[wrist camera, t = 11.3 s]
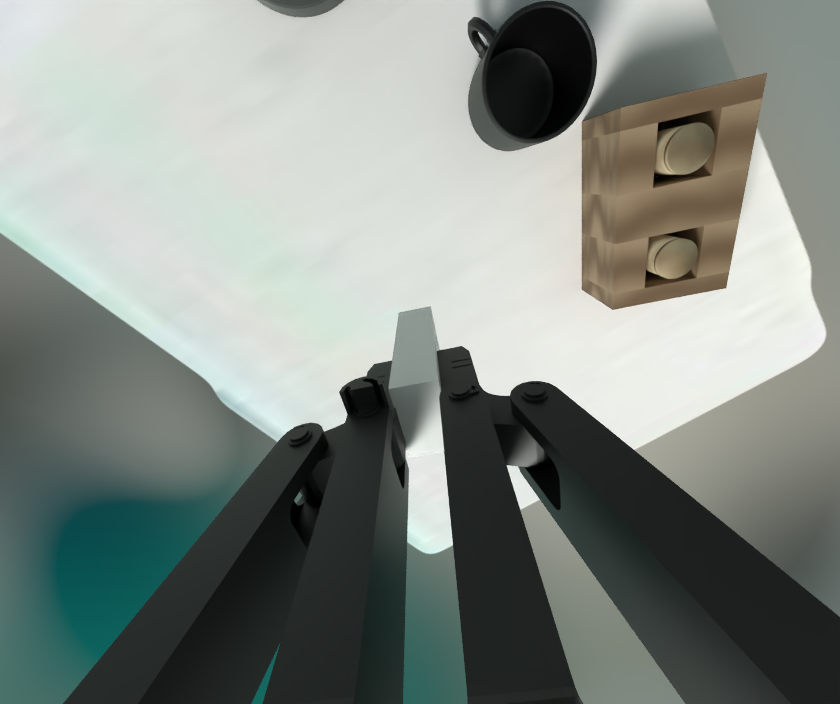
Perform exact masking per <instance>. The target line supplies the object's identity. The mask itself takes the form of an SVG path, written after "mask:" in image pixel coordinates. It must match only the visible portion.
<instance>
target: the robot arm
mask: <svg viewBox="0 0 840 704" xmlns="http://www.w3.org/2000/svg"><path fill="white" fill-rule="evenodd" d="M258 1H259V2H260V3H262V4H263V5H265V6H267V7H268V8H270V9H272V10H274V11H276V12H279V13H281V14H285V15H288V16H294V17H312V16H316V15H320V14H323V13H325V12H328V11H330V10H331V9H333V8H335V7H336V6H338V5H339V4H340V3H341V2H343V1H344V0H258ZM339 393H340V395H341V398H342V401H343V403H344V406H345V409H346V411H347V414H348V415H347V418H346V422H345V423H344V424H342V425H340V426H338V427H335V428H333V429H330V430H328V431H325V432H324V431H323V429H322V427H321V426H320V425H319V424H316V423H307V424H302V425H300V426H296V427H294V428H293V429H291V430H290V431H288V432H287V433H286V434H285V435H284V436H283V437H282V438H281V439H280V440H279V441H278V442H277V444H276V445H275V446H274V447H273V449H272V450H271V451H270V452H269V453H268V455H267V456H266V457H265V459H264V460H263V461H262V462H261V463H260V464H259V466H258V467H257V468H256V469H255V471H254V472H253V473H252V474H251V476H250V477H249V478H248V479H247V480H246V481H245V483H244V484H243V485H242V486H241V488H240V489H239V490H238V491H237V492H236V494H235V495H234V496H233V497H232V499H231V500H230V501H229V502H228V503H227V505H226V506H225V507H224V508H223V510H222V511H221V512H220V513H219V514H218V516H217V517H216V518H215V520H213V522H212V523H211V524H210V525H209V527H208V528H207V529H206V530H205V532H204V533H203V534H202V535H201V536H200V538H199V539H198V540H197V541H196V542H195V544H194V545H193V546H192V547H191V548H190V550H189V551H188V552H187V553H186V555H185V556H184V557H183V558H182V559H181V561H180V562H179V564H177V566H176V567H175V568H174V569H173V570H172V572H171V573H170V574H169V575H168V577H167V578H166V579H165V580H164V581H163V583H162V584H161V585H160V586H159V588H158V589H157V590H156V591H155V593H154V594H153V595H152V596H151V597H150V598H149V600H148V601H147V602H146V603H145V605H144V606H143V607H142V609H140V611H139V612H138V613H137V614H136V616H135V617H134V618H133V619H132V620H131V622H130V623H129V624H128V625H127V627H126V628H125V629H124V630H123V631H122V633H121V634H120V635H119V637H117V639H116V640H115V641H114V642H113V644H112V645H111V646H110V647H109V648H108V650H107V651H106V652H105V653H104V655H103V656H102V657H101V658H100V660H99V661H98V662H97V663H96V664H95V665H94V667H93V668H92V669H91V670H90V672H89V673H88V674H87V675H86V676H85V678H84V679H83V680H82V681H81V683H80V684H79V685H78V686H77V687H76V689H75V690H74V691H73V692H72V694H71V695H70V696H69V697H68V698H67V700H66V701H65V702H64V703H63V704H251V703H252V701H253V699H254V697H255V694H256V692H257V690H258V688H259V686H260V684H261V682H262V679H263V678H264V675H265V673H266V671H267V669H268V667H269V665H270V663H271V661H272V659H273V657H274V654H275V652H276V650H277V648H278V645H279V644H280V646H279V650H278V653H277V656H276V660H275V663H274V667H273V671H272V674H271V677H270V680H269V684H268V687H267V691H266V694H265V697H264V701H263V704H403V678H404V637H405V599H406V598H405V597H406V559H407V521H408V482H409V469H408V465H407V461H406V458H405V451H406V450H407V453H408V456H409V458H411V457H417V456H423V455H429V454H435V453H441V452H444V454H445V465H446V475H447V486H448V496H449V506H450V517H451V527H452V538H453V548H454V559H455V568H456V579H457V590H458V600H459V610H460V620H461V631H462V642H463V652H464V662H465V673H466V683H467V696H468V704H583V702H582V701H581V699H580V697H579V696H578V693H577V690H576V688H575V685H574V682H573V679H572V676H571V673H570V670H569V666H568V663H567V660H566V657H565V654H564V650H563V647H562V644H561V641H560V637H559V634H558V631H557V628H556V624H555V621H554V618H553V615H552V611H551V608H550V605H549V602H548V599H547V596H546V592H545V589H544V586H543V582H542V579H541V576H540V573H539V570H538V566H537V563H536V560H535V557H534V553H533V550H532V547H531V544H530V540H529V537H528V534H527V531H526V528H525V524H524V521H523V518H522V515H521V512H520V508H519V505H518V501H517V498H516V495H515V492H514V489H513V485H512V482H511V479H510V476H509V472H508V469H507V466H506V465H511V466H518V467H519V469H520V472H521V473H522V475H523V476H524V478H525V479H526V480H527V482H528V483H529V485H530V486H531V487H532V489H533V490H534V492H535V493H536V494H537V496H538V497H539V499H540V500H541V501H542V503H543V504H544V506H545V507H546V508H547V510H548V511H549V512H550V514H551V515H552V517H553V518H554V520H555V521H556V522H557V524H558V525H559V527H560V528H561V530H562V531H563V532H564V534H565V535H566V537H567V538H568V539H569V541H570V542H571V544H572V545H573V546H574V548H575V549H576V551H577V552H578V553H579V555H580V556H581V557H582V559H583V560H584V562H585V563H586V565H587V566H588V567H589V569H590V570H591V572H592V573H593V574H594V576H595V577H596V579H597V580H598V581H599V583H600V584H601V586H602V587H603V588H604V590H605V591H606V593H607V594H608V596H609V597H610V598H611V600H612V601H613V603H614V604H615V605H616V607H617V608H618V609H619V611H620V612H621V614H622V615H623V616H624V618H625V619H626V621H627V622H628V623H629V625H630V626H631V628H632V629H633V630H634V632H635V633H636V635H637V636H638V638H639V639H640V640H641V642H642V643H643V645H644V646H645V647H646V649H647V650H648V652H649V653H650V654H651V656H652V657H653V659H654V660H655V662H656V663H657V664H658V666H659V667H660V668H661V670H662V671H663V673H664V674H665V676H666V677H667V678H668V680H669V681H670V683H671V684H672V685H673V687H674V688H675V689H676V691H677V692H678V694H679V695H680V697H681V698H682V699H683V701H684V702H685V703H686V704H840V617H839V616H838V615H836V614H835V613H834V612H833V611H832V610H830V609H829V608H828V607H827V606H825V605H824V604H823V603H822V602H821V601H819V600H818V599H817V598H816V597H814V596H813V595H812V594H811V593H809V592H808V591H807V590H806V589H805V588H803V587H802V586H801V585H800V584H798V583H797V582H796V581H795V580H793V579H792V578H791V577H790V576H789V575H787V574H786V573H785V572H784V571H782V570H781V569H780V568H779V567H777V566H776V565H775V564H774V563H772V562H771V561H770V560H769V559H767V558H766V557H765V556H764V555H763V554H761V553H760V552H759V551H758V550H756V549H755V548H754V547H753V546H752V545H750V544H749V543H748V542H746V541H745V540H744V539H743V538H742V537H740V536H739V535H738V534H737V533H736V532H734V531H733V530H732V529H731V528H729V527H728V526H727V525H726V524H724V523H723V522H722V521H721V520H720V519H718V518H717V517H716V516H715V515H713V514H712V513H711V512H710V511H708V510H707V509H706V508H705V507H703V506H702V505H701V504H700V503H698V502H697V501H696V500H695V499H694V498H692V497H691V496H690V495H689V494H687V493H686V492H685V491H684V490H683V489H681V488H680V487H679V486H678V485H676V484H675V483H674V482H672V481H671V480H670V479H669V478H667V477H666V476H665V475H664V474H663V473H662V472H660V471H659V470H658V469H657V468H655V467H654V466H653V465H652V464H650V463H649V462H648V461H647V460H645V459H644V458H643V457H642V456H641V455H639V454H638V453H637V452H636V451H634V450H633V449H632V448H631V447H630V446H628V445H627V444H626V443H625V442H623V441H622V440H621V439H620V438H618V437H617V436H616V435H615V434H614V433H612V432H611V431H610V430H609V429H607V428H606V427H605V426H604V425H602V424H601V423H600V422H599V421H597V420H596V419H595V418H594V417H593V416H591V415H590V414H589V413H588V412H586V411H585V410H584V409H583V408H581V407H580V406H579V405H578V404H577V403H575V402H574V401H573V400H572V399H570V398H569V397H568V396H567V395H565V394H564V393H563V392H562V391H561V390H559V389H558V388H557V387H555V386H553V385H552V384H550V383H546V382H541V381H531V382H526V383H522V384H520V385H518V386H516V387H515V388H514V389H513V390H512V391H511V394H510V396H498V395H493V394H489V393H487V392H485V391H484V390H483V389H482V388H481V386H480V385H479V382H478V379H477V376H476V372H475V369H474V366H473V362H472V359H471V356H470V353H469V351H468V350H467V349H465V348H464V347H462V346H460V347H455V348H450V349H445V350H440V349H439V344H438V340H437V335H436V330H435V325H434V321H433V316H432V311H431V306H430V307H425V308H420V309H415V310H410V311H405V312H400V313H399V316H398V323H397V330H396V337H395V345H394V352H393V359H392V361H388V362H383V363H378V364H374V365H373V366H372V367H371V369H370V370H369V371H368V373H367V376H366V377H361V378H358V379H355V380H353V381H351V382H349V383H347V384H346V385H345V386H344V387H342V389H341V390H340V392H339ZM299 492H300V493H301V494H302V497H301V499H300V500H299V501H298V503H297V504H296V503H295V502H294V499H295V498H296V496H297V495H298V493H299ZM280 642H281V643H280Z"/></svg>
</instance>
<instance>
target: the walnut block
mask: <svg viewBox="0 0 840 704" xmlns="http://www.w3.org/2000/svg"><path fill="white" fill-rule="evenodd" d="M766 75H767V73H764V74H760V75H756V76H752V77H747V78H743V79H739V80H735V81H731V82H726V83H722V84H718V85H714V86H710V87H705V88H701V89H697V90H693V91H689V92H685V93H680V94H676V95H672V96H668V97H664V98H659V99H655V100H651V101H647V102H643V103H638V104H634V105H630V106H626V107H622V108H619V109H616V110H613V111H610V112H608V113H605V114H602V115H599V116H596V117H594V118H591V119H588V120H585V121H583V122H582V290H583V291H585V292H586V293H588V294H590V295H591V296H593V297H594V298H596V299H597V300H599V301H600V302H602V303H603V304H605V305H606V306H608V307H609V308H611V309H612V310H614V309H619V308H624V307H629V306H635V305H640V304H645V303H650V302H655V301H661V300H666V299H671V298H676V297H682V296H687V295H692V294H697V293H702V292H708V291H713V290H718V289H723V288H726V286H727V280H728V275H729V270H730V265H731V259H732V254H733V249H734V244H735V238H736V233H737V228H738V223H739V217H740V212H741V207H742V202H743V196H744V191H745V186H746V181H747V175H748V170H749V165H750V160H751V154H752V149H753V144H754V139H755V133H756V128H757V123H758V117H759V112H760V107H761V101H762V96H763V91H764V86H765V81H766ZM660 122H664V124H663V130H664V129H669V128H674V127H679V126H683V125H688V124H692V123H704V124H706V125H708V126H709V127H710V128H711V129H712V131H713V134H714V147H713V150H712V153H711V155H710V157H709V158H708V160H707V161H706V162H705V163H704V164H703V165H702V166H701V167H700V168H699V169H697V170H696V171H694V172H692V173H689V174H669V175H659V176H658V177H654V167H655V155H656V143H657V131H658V123H660ZM663 234H664V235H669V236H673V237H678V238H683V239H688V240H691V241H693V242H694V243H695V244H696V246H697V249H698V257H697V260H696V262H695V264H694V266H693V267H692V268H691V269H690V271H688V272H687V273H686V274H685V275H683V276H681V277H678V278H675V279H667V278H664V277H662V276H659V275H657V274H654V273H652V272H649V271H647V270H646V264H647V252H648V240H649V237H653V236H658V235H663Z"/></svg>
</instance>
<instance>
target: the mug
mask: <svg viewBox="0 0 840 704" xmlns="http://www.w3.org/2000/svg"><path fill="white" fill-rule="evenodd" d="M478 32H479V33H481V34H482V35H483V36H484V37H485V38H486V39H487V42H488V43H489V44H490V45H489V47H488V46H487V45H485V44H484V43H483V41H482V40H481V38H480V36H479V34H478ZM468 35H469V38H470V40H471V42H472V44H473V46H474V48H475V49H476V51H477V52H478V53H479V57H480V58H481V62H480V64H479V66H478V68H477V70H476V72H475V74H474V76H473V79H472V82H471V85H470V90H469V97H468V107H469V115H470V119H471V122H472V125H473V127H474V129H475V131H476V133H477V134H478V136H479V137H480V138H481V139H482V140H483V141H484V142H485V143H486V144H488V145H489V146H491V147H493V148H495V149H498V150H502V151H515V150H519V149H523V148H526V147H529V146H532V145H536V144H539V143H542V142H545V141H548V140H550V139H552V138H554V137H556V136H558V135H560V134H561V133H562V132H564V131H565V130H566V129H567V128H569V127H570V126H571V125H572V124H573V123H574V121H575V120H576V119H577V118H578V116H579V115H580V114H581V112H582V111H583V109H584V107H585V106H586V104H587V101H588V99H589V97H590V95H591V92H592V89H593V86H594V81H595V76H596V67H597V55H596V47H595V42H594V38H593V36H592V33H591V31H590V28H589V27H588V25H587V23H586V21H585V20H584V19H583V18H582V17H581V15H580V14H579V13H578V12H576V11H575V10H574V9H572V8H571V7H569V6H567V5H565V4H562V3H559V2H555V1H542V2H536V3H533V4H530V5H528V6H525V7H523V8H522V9H520V10H519V11H517V12H515V13H514V14H513V15H512V16H511V17H510V18H508V19H507V20H506V21H505V23H504V24H503V25H502V26H501V27H500V28H499V30H498V32H497V31H496V30H494V29H493V28H492V27H491V26H490V25H489V24H488V23H486V22H485V21H484V20H482V19H480V18H478V17H473V18H472V19H471V20H470V21H469V22H468Z"/></svg>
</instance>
